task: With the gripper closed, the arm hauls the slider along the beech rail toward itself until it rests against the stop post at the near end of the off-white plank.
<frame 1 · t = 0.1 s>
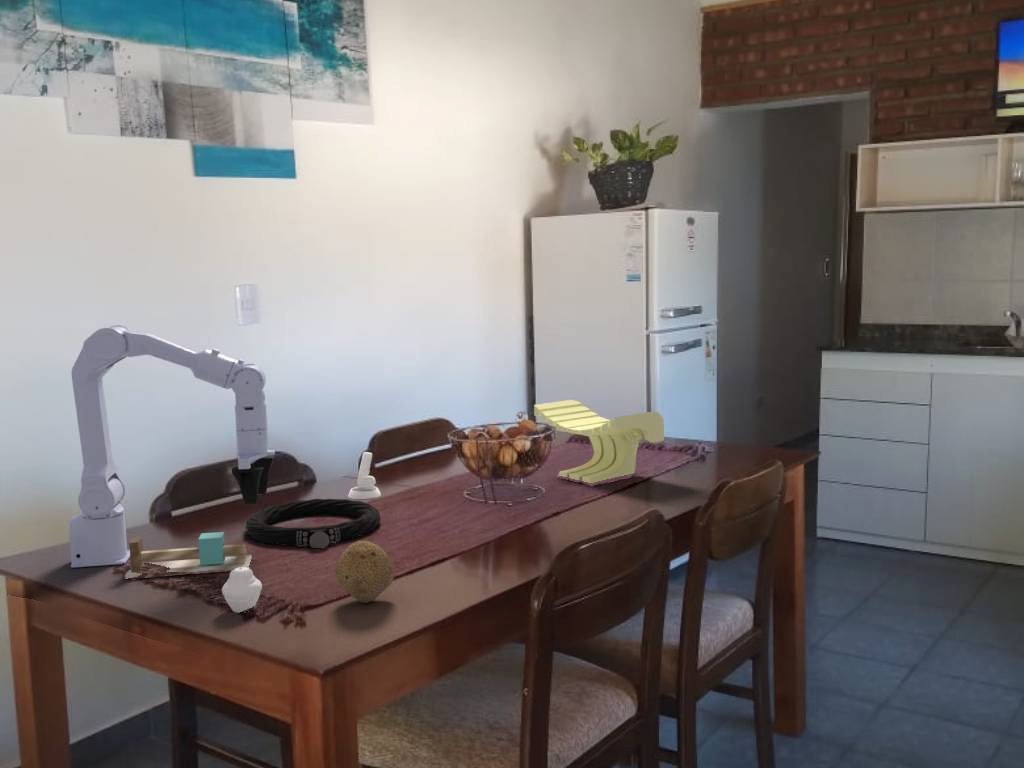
hand: (255, 498, 186), 10 cm above the table, tool pointing down, fingers open, 7 cm apart
white joystick: (364, 496, 230), on the table
slatted curved stool: (598, 478, 243), on the table
natural sponge: (364, 602, 156), on the table
slider: (212, 548, 176), point 4 cm above the table, slide at 0.0 cm
rail: (190, 569, 175), on the table
cable lock: (314, 532, 201), on the table
white faceted lump: (243, 610, 154), on the table
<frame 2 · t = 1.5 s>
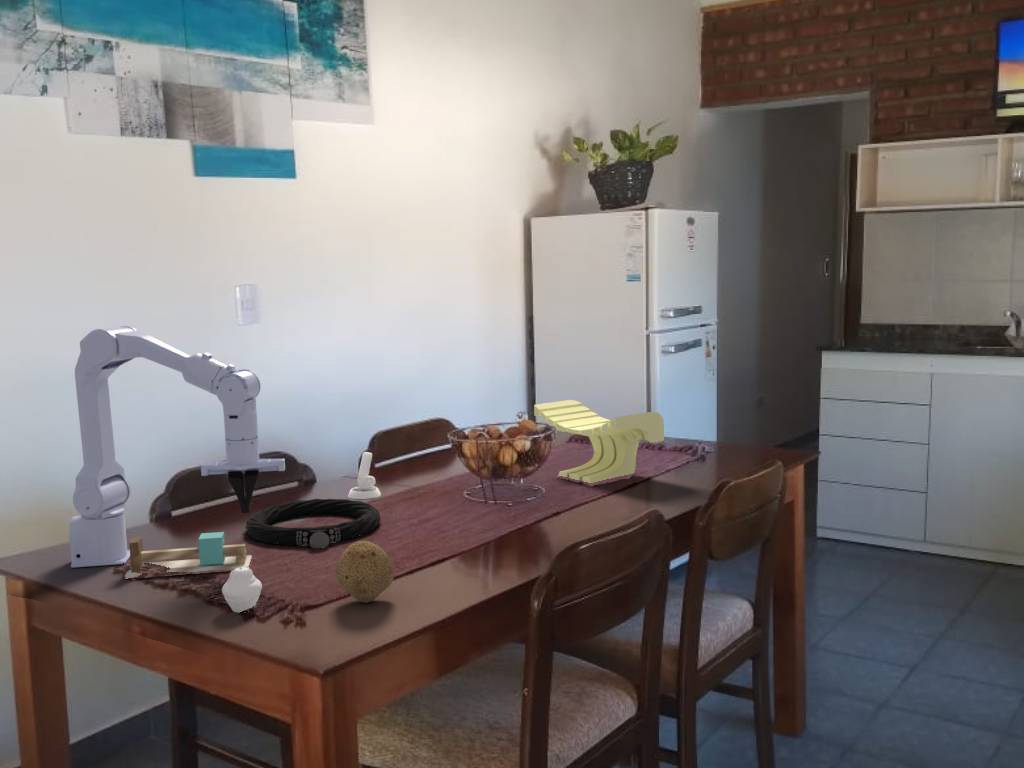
hand: (246, 511, 176), 10 cm above the table, tool pointing down, fingers closed
nothing on the table moved.
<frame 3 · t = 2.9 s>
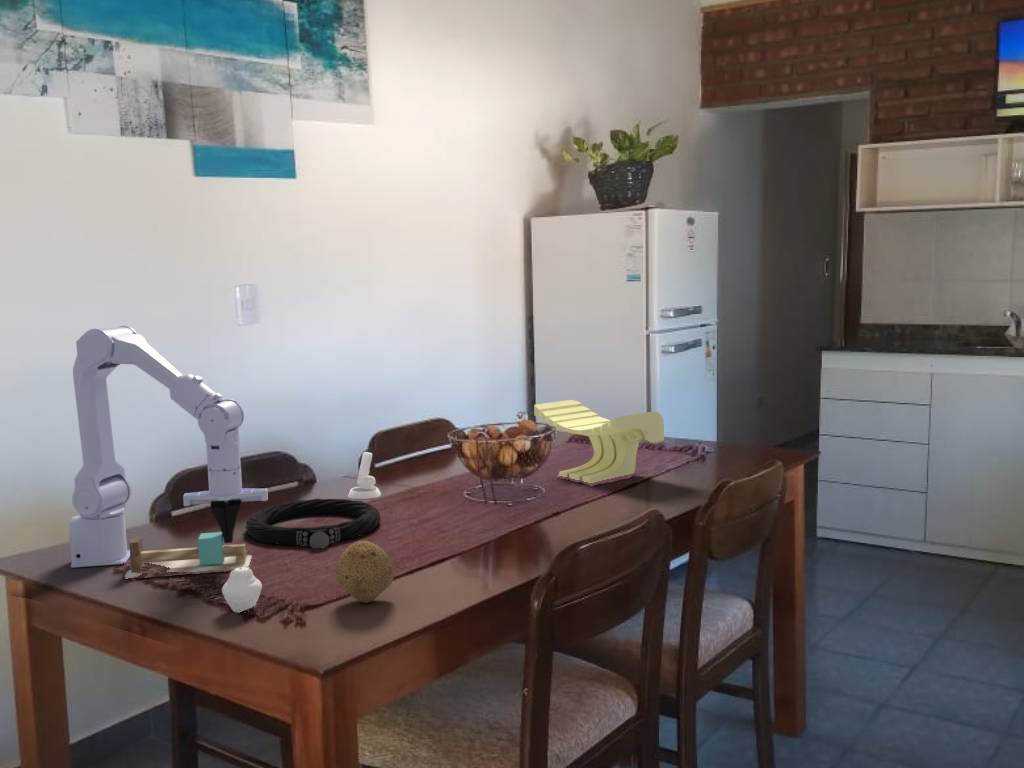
hand: (228, 541, 176), 5 cm above the table, tool pointing down, fingers closed
slider: (211, 548, 176), point 4 cm above the table, slide at 0.1 cm, touching gripper
everything else where it was.
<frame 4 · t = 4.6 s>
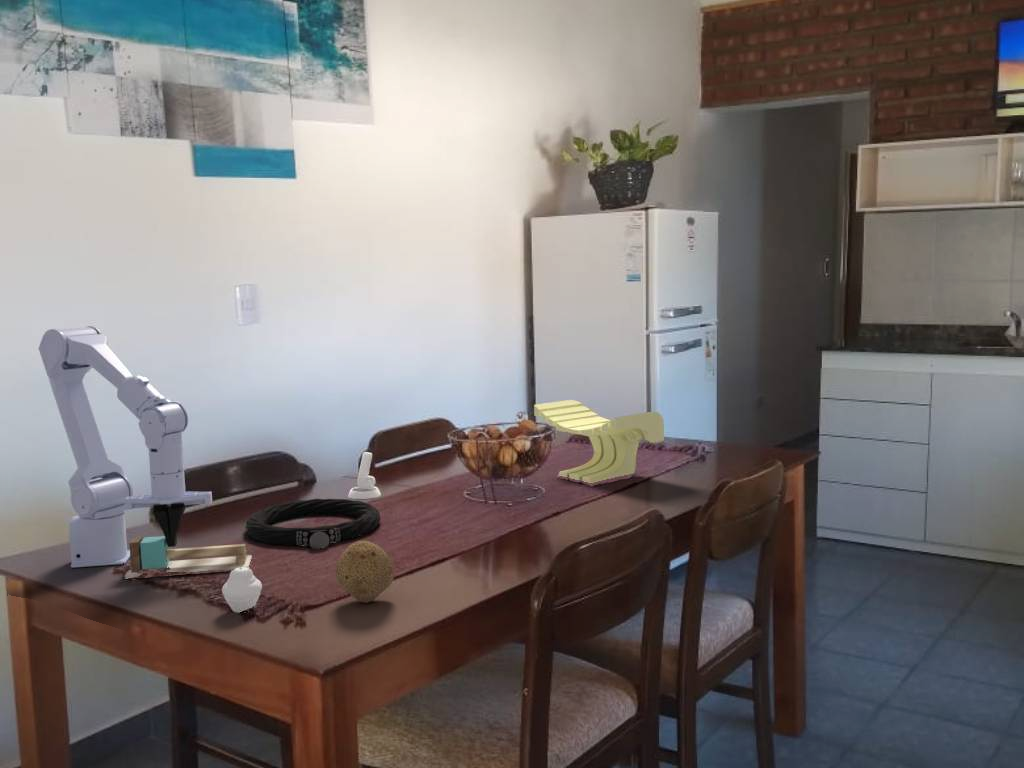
hand: (172, 545, 174), 5 cm above the table, tool pointing down, fingers closed
slider: (155, 552, 174), point 4 cm above the table, slide at 9.9 cm, touching gripper
everything else where it was.
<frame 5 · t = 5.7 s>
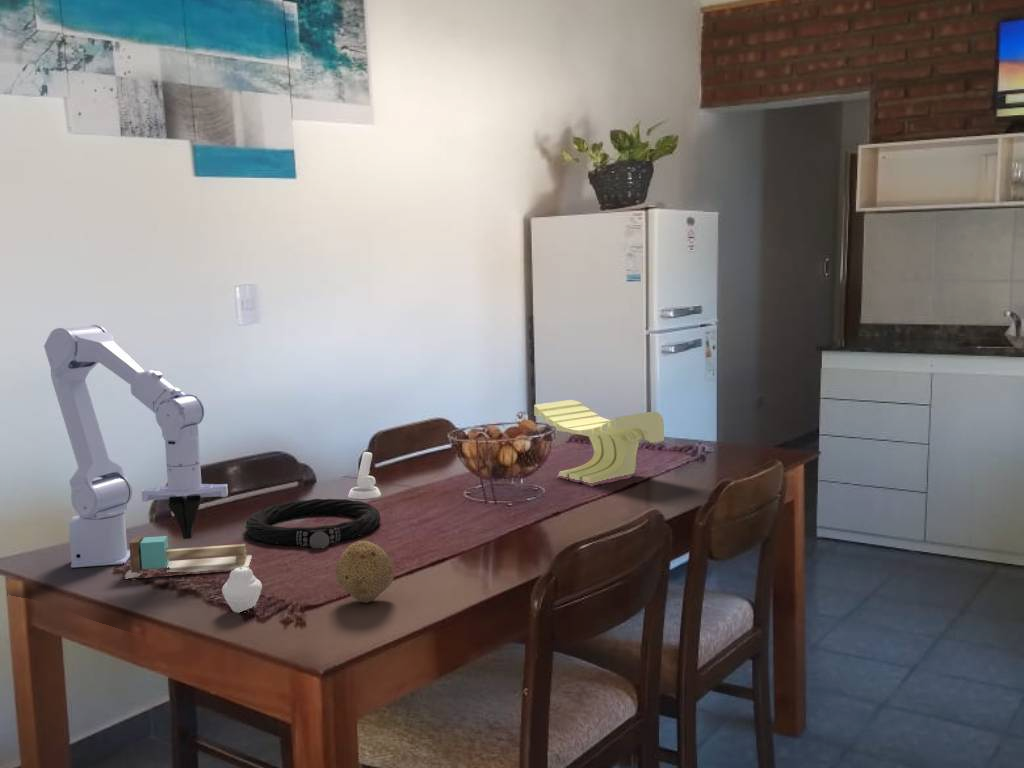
hand: (188, 537, 175), 6 cm above the table, tool pointing down, fingers closed
slider: (154, 552, 174), point 4 cm above the table, slide at 9.9 cm
everything else where it was.
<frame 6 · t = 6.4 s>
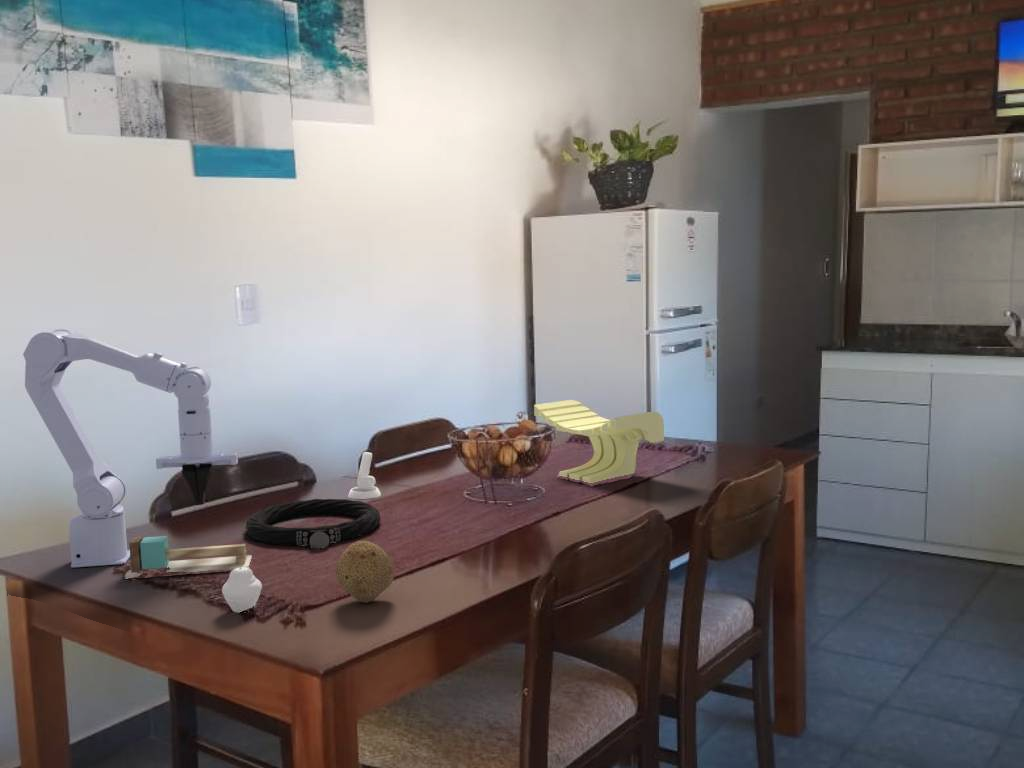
hand: (200, 503, 183), 10 cm above the table, tool pointing down, fingers closed
nothing on the table moved.
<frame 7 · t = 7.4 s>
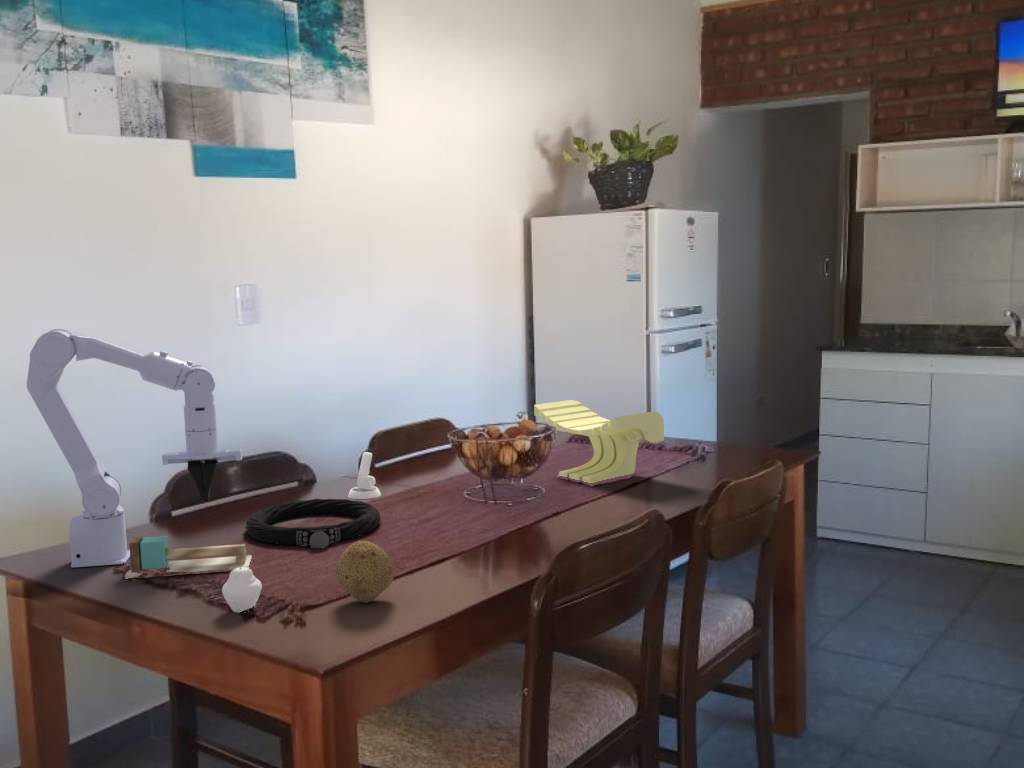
hand: (205, 498, 187), 10 cm above the table, tool pointing down, fingers closed
nothing on the table moved.
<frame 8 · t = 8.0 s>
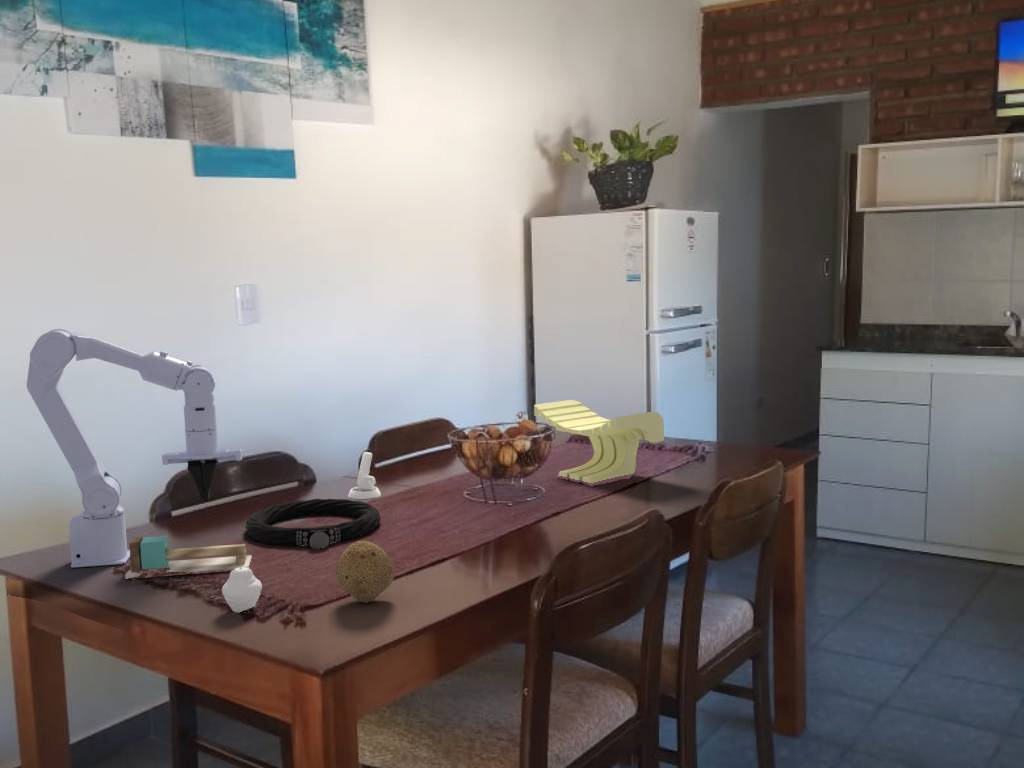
hand: (205, 498, 187), 10 cm above the table, tool pointing down, fingers closed
nothing on the table moved.
at the end: slider slide at 9.9 cm; slider 0.2 cm from the target spot, resting on rail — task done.
